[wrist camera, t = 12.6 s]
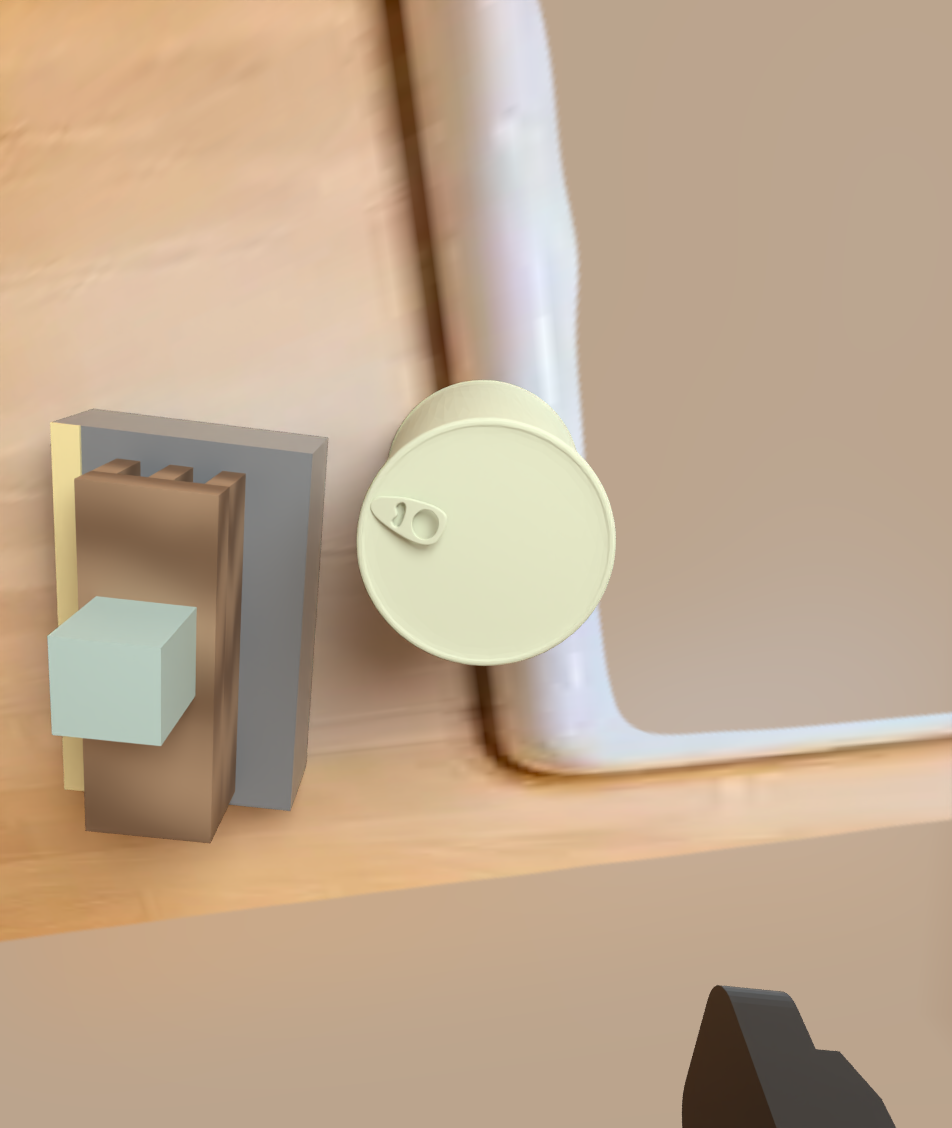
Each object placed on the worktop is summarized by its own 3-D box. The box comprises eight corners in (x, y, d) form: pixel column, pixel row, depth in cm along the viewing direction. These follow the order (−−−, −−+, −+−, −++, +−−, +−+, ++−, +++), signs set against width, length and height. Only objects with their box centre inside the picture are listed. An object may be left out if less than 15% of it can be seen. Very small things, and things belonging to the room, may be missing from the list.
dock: (93, 408, 39) (50, 422, 35) (328, 437, 39) (312, 454, 35) (100, 745, 44) (64, 789, 41) (306, 766, 45) (289, 812, 41)
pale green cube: (96, 596, 33) (47, 636, 29) (196, 607, 33) (160, 648, 30) (98, 685, 34) (51, 735, 31) (195, 695, 35) (161, 746, 31)
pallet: (116, 458, 36) (73, 478, 32) (245, 473, 36) (218, 495, 32) (122, 779, 41) (85, 830, 37) (235, 791, 41) (210, 843, 37)
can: (427, 348, 38) (406, 375, 27) (610, 423, 39) (665, 479, 28) (360, 528, 41) (316, 622, 29) (533, 593, 42) (555, 708, 30)
